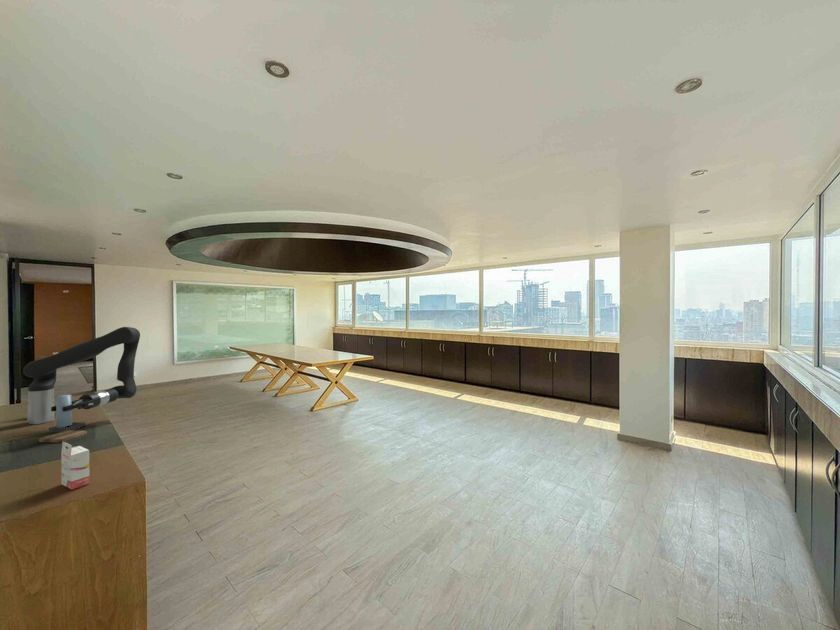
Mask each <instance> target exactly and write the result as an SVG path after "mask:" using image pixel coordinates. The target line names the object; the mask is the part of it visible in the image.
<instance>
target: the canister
mask: <svg viewBox="0 0 840 630" xmlns="http://www.w3.org/2000/svg"><path fill="white" fill-rule="evenodd" d="M71 401H72V394H60V395H57V396H55V406H56V411H55V414H56V415H55V416H56V419H55V420H56V426H57V427H66V426H70V425H72V422H73V413H72V411H73V409H72V410H69V411H65V412H63V411H62V408H63V407H65V406H69V405H72V403H71ZM66 428H67V427H66Z"/></svg>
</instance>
